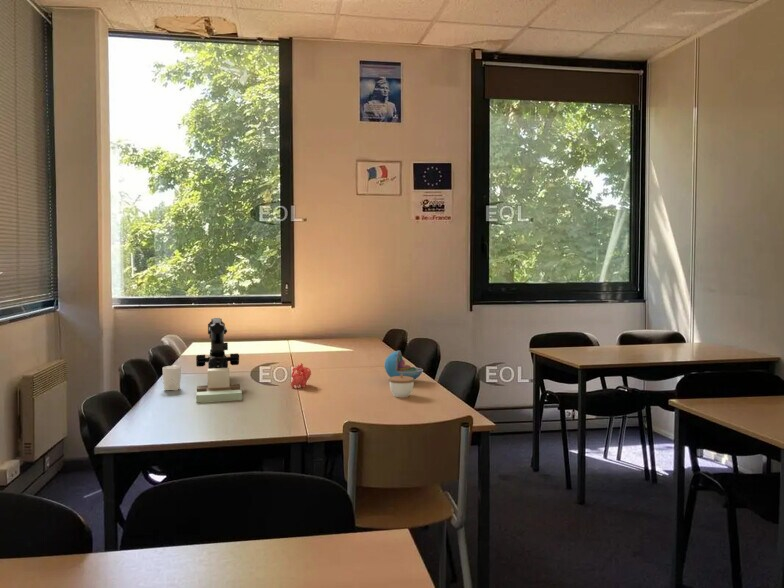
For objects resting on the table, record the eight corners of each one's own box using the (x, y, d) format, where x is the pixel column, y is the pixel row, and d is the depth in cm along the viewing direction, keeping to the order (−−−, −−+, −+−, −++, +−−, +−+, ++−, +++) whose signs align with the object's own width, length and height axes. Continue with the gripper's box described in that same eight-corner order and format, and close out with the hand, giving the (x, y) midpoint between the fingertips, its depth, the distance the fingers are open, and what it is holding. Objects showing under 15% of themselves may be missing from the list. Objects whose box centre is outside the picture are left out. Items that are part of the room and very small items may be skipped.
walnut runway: (197, 392, 264) (197, 385, 263) (239, 390, 269) (239, 383, 269) (196, 399, 252) (196, 392, 252) (240, 396, 257) (240, 389, 257)
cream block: (207, 385, 264) (207, 368, 264) (229, 384, 267) (228, 367, 266) (207, 388, 259) (207, 371, 258) (229, 387, 261) (229, 370, 261)
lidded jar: (385, 394, 264) (385, 373, 263) (408, 392, 268) (408, 371, 267) (394, 399, 254) (394, 377, 253) (417, 397, 258) (417, 376, 257)
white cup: (161, 391, 265) (161, 369, 264) (163, 387, 273) (163, 366, 272) (180, 390, 267) (180, 368, 267) (182, 387, 275) (181, 365, 274)
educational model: (420, 385, 282) (420, 353, 281) (381, 383, 286) (381, 352, 285) (425, 379, 297) (425, 349, 297) (388, 377, 301) (388, 347, 300)
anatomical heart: (307, 386, 285) (313, 363, 284) (306, 392, 273) (313, 368, 273) (288, 382, 284) (295, 358, 283) (287, 388, 272) (294, 363, 271)
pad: (196, 399, 252) (196, 392, 252) (240, 396, 257) (240, 389, 257) (196, 402, 246) (196, 395, 245) (241, 400, 251) (241, 392, 251)
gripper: (196, 337, 270) (195, 365, 260) (238, 335, 276) (240, 363, 266) (196, 351, 278) (196, 380, 268) (238, 350, 284) (239, 378, 274)
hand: (218, 375), depth 269 cm, fingers closed
